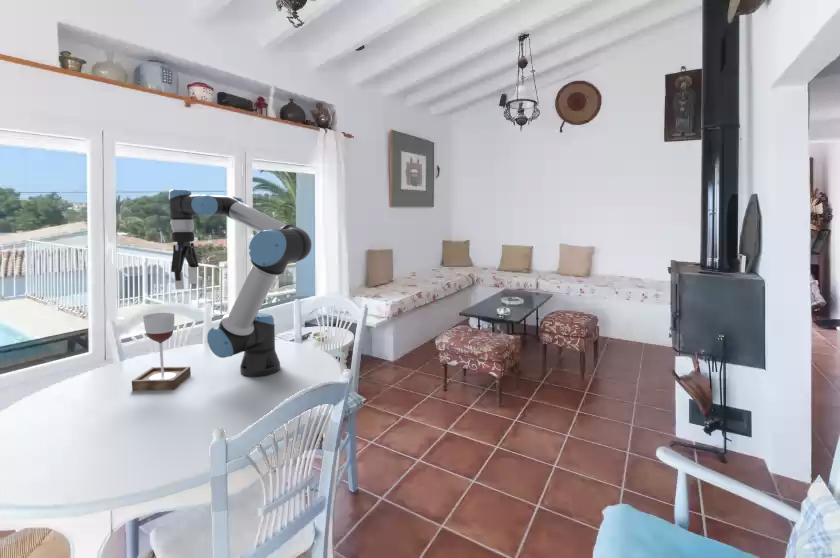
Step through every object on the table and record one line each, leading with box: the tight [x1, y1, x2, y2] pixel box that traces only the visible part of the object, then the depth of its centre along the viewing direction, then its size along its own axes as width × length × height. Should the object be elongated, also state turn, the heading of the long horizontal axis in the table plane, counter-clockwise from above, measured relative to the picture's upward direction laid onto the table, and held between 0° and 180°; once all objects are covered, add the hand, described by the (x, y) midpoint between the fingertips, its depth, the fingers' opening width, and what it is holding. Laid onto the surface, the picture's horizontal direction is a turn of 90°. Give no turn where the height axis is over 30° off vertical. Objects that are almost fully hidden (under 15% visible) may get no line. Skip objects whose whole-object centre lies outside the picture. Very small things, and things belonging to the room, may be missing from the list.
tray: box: [131, 366, 192, 391], centre depth 162 cm, size 14×14×4 cm
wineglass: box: [142, 312, 176, 380], centre depth 159 cm, size 9×10×23 cm
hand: (186, 286), depth 169 cm, fingers open, 13 cm apart
